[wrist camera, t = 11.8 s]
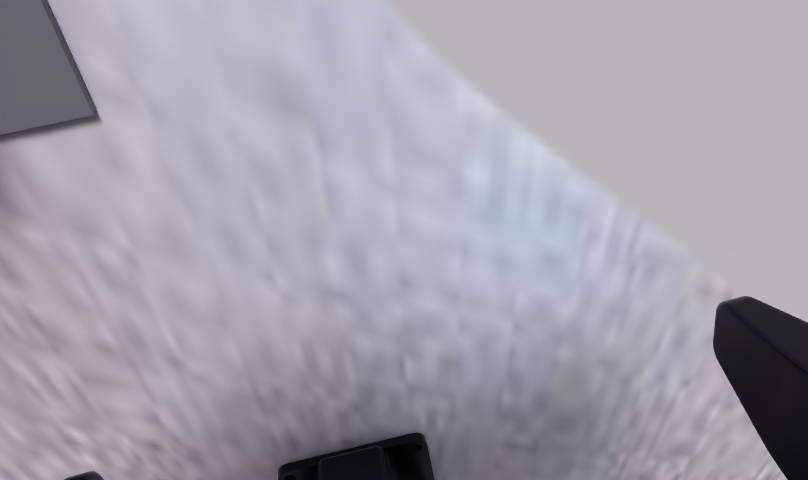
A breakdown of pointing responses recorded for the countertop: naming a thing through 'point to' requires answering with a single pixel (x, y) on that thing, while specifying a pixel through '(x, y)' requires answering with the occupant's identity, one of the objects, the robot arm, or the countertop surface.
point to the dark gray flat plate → (37, 70)
